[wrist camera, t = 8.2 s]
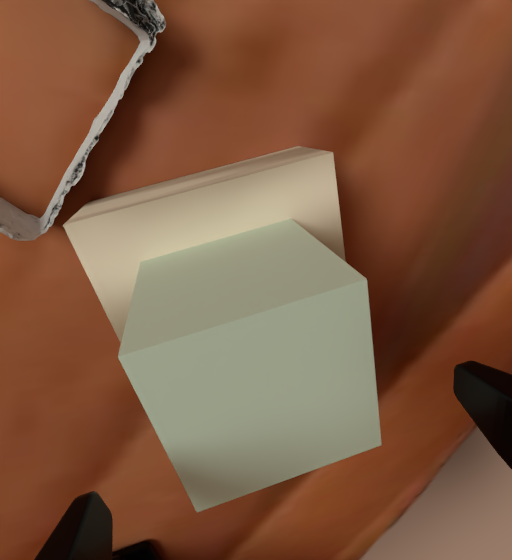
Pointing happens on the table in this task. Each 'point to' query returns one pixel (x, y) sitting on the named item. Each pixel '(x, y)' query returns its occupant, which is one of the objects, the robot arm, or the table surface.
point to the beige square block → (202, 217)
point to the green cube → (252, 360)
